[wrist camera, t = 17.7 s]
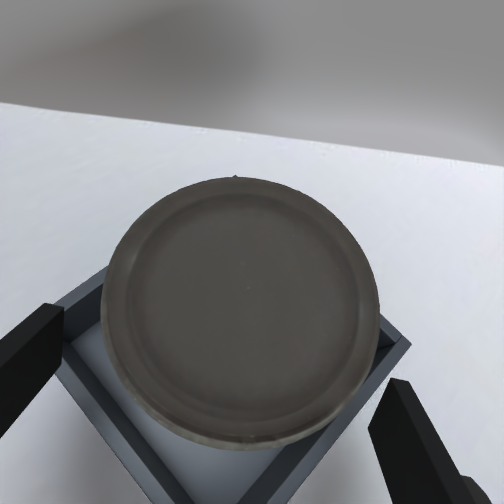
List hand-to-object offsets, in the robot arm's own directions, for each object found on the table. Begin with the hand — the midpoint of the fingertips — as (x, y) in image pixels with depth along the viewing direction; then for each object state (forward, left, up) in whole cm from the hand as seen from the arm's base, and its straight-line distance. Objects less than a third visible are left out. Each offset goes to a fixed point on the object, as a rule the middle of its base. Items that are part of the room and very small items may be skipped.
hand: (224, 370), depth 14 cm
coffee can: (-1, +2, -12) cm, 12 cm away
